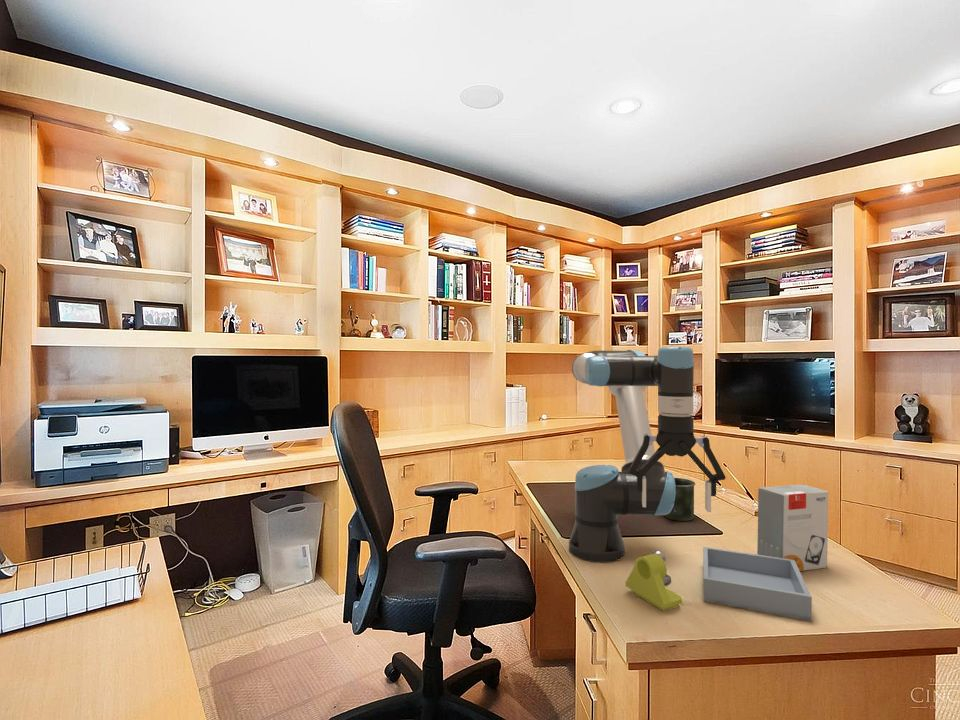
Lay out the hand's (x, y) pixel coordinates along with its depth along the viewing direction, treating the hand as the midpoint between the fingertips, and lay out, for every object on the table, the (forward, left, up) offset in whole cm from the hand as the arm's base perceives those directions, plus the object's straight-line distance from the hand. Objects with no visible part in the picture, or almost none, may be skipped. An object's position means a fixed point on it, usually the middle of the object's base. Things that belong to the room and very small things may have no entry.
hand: (675, 508), depth 110 cm
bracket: (-4, -5, -20) cm, 21 cm away
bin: (+16, +9, -20) cm, 27 cm away
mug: (-2, +57, -20) cm, 61 cm away
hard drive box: (+27, +29, -20) cm, 45 cm away
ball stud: (-4, +6, -20) cm, 21 cm away
